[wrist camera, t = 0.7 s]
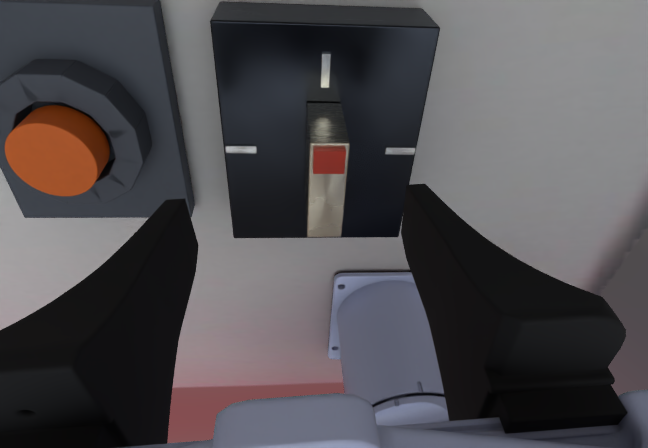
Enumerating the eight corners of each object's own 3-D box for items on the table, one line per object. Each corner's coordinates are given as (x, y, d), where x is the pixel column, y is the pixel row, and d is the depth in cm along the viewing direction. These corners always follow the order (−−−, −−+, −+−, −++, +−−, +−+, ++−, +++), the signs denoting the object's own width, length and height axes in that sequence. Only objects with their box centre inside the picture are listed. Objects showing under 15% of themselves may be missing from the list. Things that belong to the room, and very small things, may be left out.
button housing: (195, 205, 26) (186, 238, 24) (34, 205, 25) (8, 240, 23) (159, -2, 19) (142, 18, 17) (-64, -9, 18) (-115, 10, 16)
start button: (118, 175, 21) (107, 197, 20) (40, 175, 21) (23, 196, 20) (98, 105, 19) (83, 123, 18) (10, 103, 19) (-12, 122, 17)
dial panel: (389, 205, 27) (399, 239, 24) (238, 205, 26) (233, 240, 24) (423, 8, 20) (442, 28, 17) (219, 1, 19) (208, 21, 17)
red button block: (334, 190, 22) (341, 240, 19) (304, 190, 22) (307, 241, 19) (341, 102, 19) (350, 146, 16) (306, 102, 19) (309, 146, 16)
